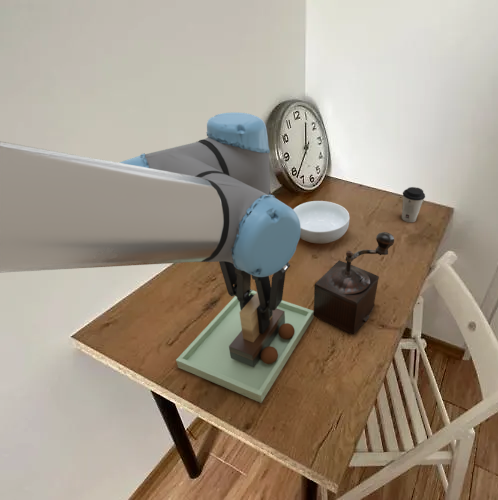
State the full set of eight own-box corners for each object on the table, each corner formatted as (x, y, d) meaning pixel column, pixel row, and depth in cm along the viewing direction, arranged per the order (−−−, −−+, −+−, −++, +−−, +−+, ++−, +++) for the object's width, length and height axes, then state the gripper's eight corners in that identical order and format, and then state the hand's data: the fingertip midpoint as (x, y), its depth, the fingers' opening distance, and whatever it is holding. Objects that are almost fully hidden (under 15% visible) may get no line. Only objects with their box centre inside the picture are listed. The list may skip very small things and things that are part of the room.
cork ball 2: (282, 329, 68) (272, 334, 70) (293, 340, 69) (283, 344, 71) (289, 317, 71) (279, 322, 73) (300, 328, 72) (290, 332, 74)
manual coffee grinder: (355, 337, 74) (365, 271, 63) (312, 315, 78) (313, 249, 67) (386, 295, 85) (399, 232, 74) (346, 277, 89) (353, 216, 78)
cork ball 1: (262, 353, 64) (254, 358, 66) (275, 365, 64) (266, 369, 66) (271, 340, 66) (263, 346, 68) (284, 352, 66) (275, 357, 68)
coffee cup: (406, 226, 111) (412, 197, 105) (393, 215, 116) (399, 187, 110) (424, 221, 114) (430, 193, 108) (410, 211, 119) (416, 184, 113)
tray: (261, 403, 61) (260, 395, 60) (178, 367, 65) (175, 359, 64) (313, 318, 77) (313, 310, 76) (244, 294, 82) (243, 287, 81)
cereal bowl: (305, 215, 112) (305, 195, 108) (355, 228, 108) (357, 207, 104) (280, 243, 99) (279, 222, 95) (335, 258, 95) (337, 237, 91)
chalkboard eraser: (253, 367, 65) (249, 329, 59) (230, 358, 66) (223, 319, 60) (285, 322, 74) (283, 285, 68) (264, 315, 75) (261, 277, 69)
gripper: (303, 221, 55) (302, 325, 69) (220, 199, 59) (235, 301, 73) (279, 247, 49) (284, 354, 63) (189, 220, 53) (212, 327, 67)
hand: (258, 325), depth 68 cm, fingers closed on chalkboard eraser, 2 cm apart
